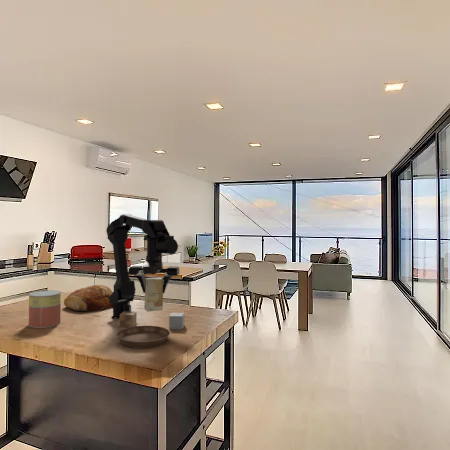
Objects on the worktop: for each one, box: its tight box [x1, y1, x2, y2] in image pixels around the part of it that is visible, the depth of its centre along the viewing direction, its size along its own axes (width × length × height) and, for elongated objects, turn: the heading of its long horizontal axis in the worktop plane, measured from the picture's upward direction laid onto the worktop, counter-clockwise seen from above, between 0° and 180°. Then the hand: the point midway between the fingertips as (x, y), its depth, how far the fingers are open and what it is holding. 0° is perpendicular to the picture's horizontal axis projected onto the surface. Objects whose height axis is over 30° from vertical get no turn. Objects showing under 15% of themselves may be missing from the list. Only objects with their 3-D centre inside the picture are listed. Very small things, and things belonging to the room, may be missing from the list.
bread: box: [63, 284, 113, 312], centre depth 170 cm, size 20×18×10 cm
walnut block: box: [119, 311, 137, 329], centre depth 140 cm, size 5×5×5 cm
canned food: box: [27, 289, 62, 329], centre depth 142 cm, size 11×11×12 cm
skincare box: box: [143, 277, 164, 313], centre depth 139 cm, size 6×4×12 cm
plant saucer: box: [115, 325, 171, 349], centre depth 123 cm, size 18×18×3 cm
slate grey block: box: [168, 312, 186, 330], centre depth 139 cm, size 5×5×5 cm
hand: (154, 293), depth 139 cm, fingers closed on skincare box, 7 cm apart
